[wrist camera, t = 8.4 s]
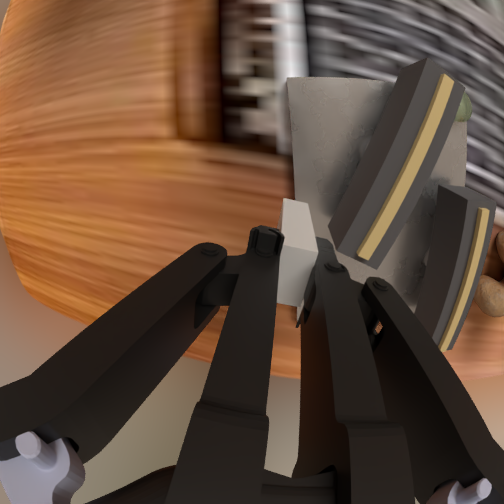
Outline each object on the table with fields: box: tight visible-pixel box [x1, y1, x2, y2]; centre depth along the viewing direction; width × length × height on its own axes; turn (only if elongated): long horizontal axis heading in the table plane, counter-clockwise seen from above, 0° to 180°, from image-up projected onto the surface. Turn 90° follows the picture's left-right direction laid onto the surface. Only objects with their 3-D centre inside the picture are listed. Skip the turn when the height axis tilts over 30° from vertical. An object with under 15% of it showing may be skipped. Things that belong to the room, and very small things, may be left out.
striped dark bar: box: [328, 58, 465, 270], centre depth 15 cm, size 3×14×6 cm, turn 158°
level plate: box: [287, 77, 472, 321], centre depth 20 cm, size 22×16×2 cm
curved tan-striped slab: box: [414, 184, 497, 352], centre depth 18 cm, size 3×14×6 cm, turn 5°
